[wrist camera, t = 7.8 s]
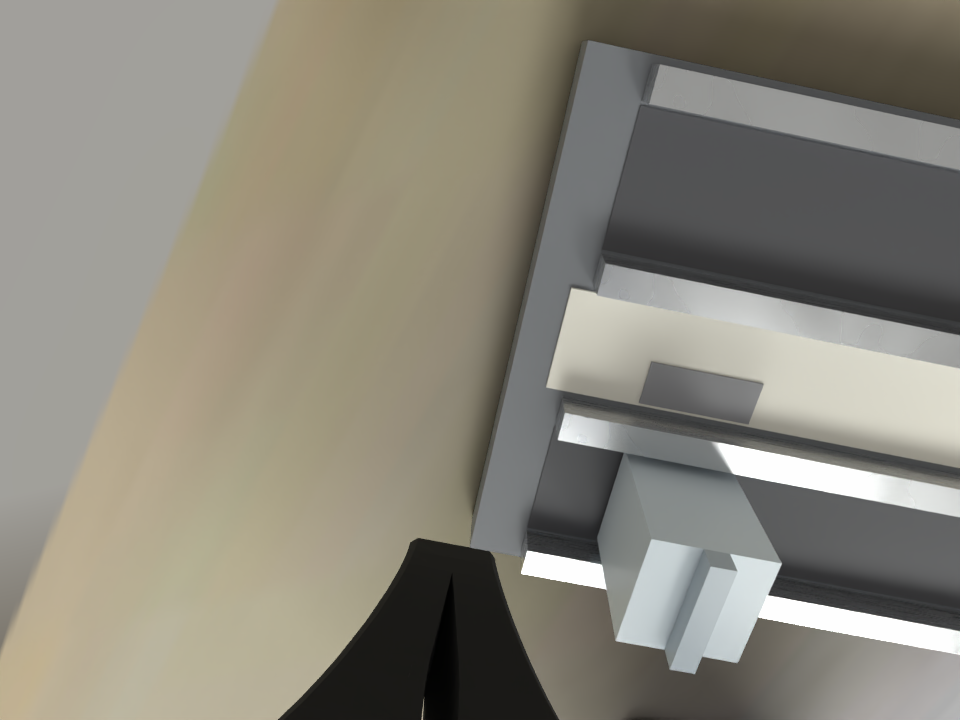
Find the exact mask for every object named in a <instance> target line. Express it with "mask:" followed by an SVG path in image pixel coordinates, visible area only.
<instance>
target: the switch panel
mask: <svg viewBox="0 0 960 720" xmlns="http://www.w3.org/2000/svg"><path fill="white" fill-rule="evenodd" d="M624 453H628V454H633V455H638V456H644V457H649V458H654V459H659V460H664V461H670V462H675V463H680V464H685V465H690V466H696V467H701V468H706V469H711V470H716V471H722V472H727V473H732V474H734V475H735V477H736V479H737V481H738V482H739V484H740V486H741V488H742V490H743V492H744V494H745V495H746V497H747V499H748V501H749V503H750V505H751V507H752V509H753V510H754V512H755V514H756V516H757V518H758V520H759V522H760V523H761V525H762V527H763V529H764V531H765V533H766V535H767V537H768V538H769V540H770V542H771V544H772V546H773V548H774V550H775V552H776V553H777V555H778V557H779V559H780V561H781V563H782V565H781V567H780V569H779V571H778V574H777V576H776V578H775V580H774V583H773V585H772V587H771V589H770V592H769V594H768V596H767V598H766V601H765V603H764V605H763V607H762V610H761V612H760V614H759V616H758V617H759V618H765V619H770V620H775V621H781V622H786V623H792V624H797V625H803V626H808V627H813V628H819V629H824V630H830V631H835V632H840V633H846V634H851V635H857V636H862V637H868V638H873V639H878V640H884V641H889V642H895V643H900V644H906V645H911V646H916V647H922V648H927V649H933V650H938V651H943V652H949V653H954V654H960V120H957V119H952V118H948V117H943V116H938V115H934V114H929V113H924V112H920V111H915V110H911V109H906V108H901V107H897V106H892V105H887V104H883V103H878V102H873V101H869V100H864V99H859V98H855V97H850V96H845V95H841V94H836V93H832V92H827V91H822V90H818V89H813V88H808V87H804V86H799V85H794V84H790V83H785V82H780V81H776V80H771V79H767V78H762V77H757V76H753V75H748V74H743V73H739V72H734V71H729V70H725V69H720V68H715V67H711V66H706V65H702V64H697V63H692V62H688V61H683V60H678V59H674V58H669V57H664V56H660V55H655V54H650V53H646V52H641V51H636V50H632V49H627V48H623V47H618V46H613V45H609V44H604V43H599V42H595V41H590V40H586V41H582V44H581V48H580V52H579V57H578V61H577V65H576V70H575V74H574V79H573V83H572V87H571V92H570V96H569V100H568V105H567V109H566V113H565V118H564V122H563V126H562V131H561V135H560V139H559V144H558V148H557V152H556V157H555V161H554V165H553V170H552V174H551V178H550V183H549V187H548V191H547V196H546V200H545V204H544V209H543V213H542V217H541V222H540V226H539V230H538V235H537V239H536V243H535V248H534V252H533V256H532V261H531V265H530V269H529V274H528V278H527V282H526V287H525V291H524V296H523V300H522V304H521V309H520V313H519V317H518V322H517V326H516V330H515V335H514V339H513V343H512V348H511V352H510V356H509V361H508V365H507V369H506V374H505V378H504V382H503V387H502V391H501V395H500V400H499V404H498V408H497V413H496V417H495V421H494V426H493V430H492V434H491V439H490V443H489V447H488V452H487V456H486V460H485V465H484V469H483V473H482V478H481V482H480V486H479V491H478V495H477V499H476V504H475V508H474V513H473V517H472V527H471V540H470V548H475V549H480V550H486V551H491V552H497V553H502V554H507V555H513V556H518V557H521V574H526V575H532V576H537V577H543V578H548V579H553V580H559V581H564V582H570V583H575V584H580V585H586V586H591V587H597V588H602V589H606V585H605V579H604V574H603V568H602V563H601V557H600V552H599V546H598V541H597V536H598V533H599V530H600V527H601V524H602V520H603V517H604V514H605V511H606V508H607V505H608V501H609V498H610V495H611V492H612V489H613V486H614V482H615V479H616V476H617V473H618V470H619V467H620V463H621V460H622V457H623V454H624Z"/></svg>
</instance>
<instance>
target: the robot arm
mask: <svg viewBox="0 0 960 720" xmlns="http://www.w3.org/2000/svg"><path fill="white" fill-rule="evenodd" d="M423 699H424V712H423V720H559V719H558V717H557V715H556V713H555V711H554V710H553V708H552V706H551V704H550V702H549V700H548V698H547V696H546V694H545V692H544V690H543V688H542V686H541V684H540V682H539V680H538V678H537V676H536V673H535V671H534V669H533V667H532V665H531V662H530V660H529V658H528V656H527V653H526V651H525V649H524V646H523V644H522V641H521V639H520V636H519V634H518V631H517V629H516V627H515V624H514V621H513V619H512V616H511V613H510V610H509V608H508V605H507V602H506V599H505V596H504V593H503V589H502V586H501V583H500V579H499V576H498V572H497V568H496V563H495V558H494V557H493V555H492V554H491V553H490V551H485V550H480V549H474V548H469V547H464V546H458V545H453V544H447V543H442V542H437V541H431V540H426V539H421V538H418V539H416V540H414V541H412V542H410V545H409V549H408V552H407V554H406V556H405V559H404V561H403V563H402V565H401V567H400V569H399V571H398V573H397V574H396V576H395V578H394V579H393V581H392V583H391V585H390V586H389V588H388V590H387V591H386V593H385V594H384V596H383V597H382V599H381V600H380V601H379V603H378V604H377V606H376V607H375V609H374V610H373V612H372V613H371V615H370V616H369V618H368V619H367V620H366V622H365V623H364V625H363V626H362V627H361V628H360V630H359V631H358V632H357V633H356V635H355V636H354V637H353V639H352V640H351V641H350V642H349V644H348V645H347V646H346V647H345V649H344V650H343V651H342V652H341V654H340V655H339V656H338V657H337V659H336V660H335V661H334V662H333V663H332V664H331V665H330V667H329V668H328V669H327V670H326V671H325V672H324V673H323V674H322V676H321V677H320V678H319V679H318V680H317V681H316V682H315V683H314V684H313V685H312V686H311V687H310V688H309V689H308V691H307V692H306V693H305V694H304V695H303V696H302V697H301V698H300V699H299V700H298V701H297V702H296V703H295V704H294V705H293V706H292V707H291V708H290V709H288V710H287V711H286V712H285V713H284V714H283V715H282V716H281V717H280V718H279V719H278V720H421V717H422V708H423Z"/></svg>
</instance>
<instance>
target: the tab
mask: <svg viewBox="0 0 960 720" xmlns="http://www.w3.org/2000/svg"><path fill="white" fill-rule="evenodd" d="M597 541H598V546H599V552H600V557H601V563H602V568H603V574H604V579H605V585H606V591H607V596H608V602H609V607H610V613H611V618H612V624H613V629H614V635H615V641H619V642H624V643H630V644H635V645H641V646H646V647H652V648H657V649H663V650H665V653H666V657H667V661H668V665H669V669H670V670H675V671H681V672H686V673H692V674H695V673H696V670H697V668H698V666H699V663H700V661H701V658H702V657H707V658H712V659H718V660H723V661H729V662H734V663H738V661H739V659H740V657H741V654H742V652H743V650H744V648H745V645H746V643H747V641H748V639H749V637H750V634H751V632H752V630H753V628H754V625H755V623H756V621H757V619H758V616H759V614H760V612H761V610H762V607H763V605H764V603H765V601H766V598H767V596H768V594H769V592H770V589H771V587H772V585H773V583H774V580H775V578H776V576H777V574H778V571H779V569H780V567H781V565H782V563H781V561H780V559H779V557H778V555H777V553H776V552H775V550H774V548H773V546H772V544H771V542H770V540H769V538H768V537H767V535H766V533H765V531H764V529H763V527H762V525H761V523H760V522H759V520H758V518H757V516H756V514H755V512H754V510H753V509H752V507H751V505H750V503H749V501H748V499H747V497H746V495H745V494H744V492H743V490H742V488H741V486H740V484H739V482H738V481H737V479H736V477H735V475H734V474H732V473H727V472H722V471H716V470H711V469H706V468H701V467H696V466H690V465H685V464H680V463H675V462H670V461H664V460H659V459H654V458H649V457H644V456H638V455H633V454H628V453H624V454H623V457H622V460H621V463H620V467H619V470H618V473H617V476H616V479H615V482H614V486H613V489H612V492H611V495H610V498H609V501H608V505H607V508H606V511H605V514H604V517H603V520H602V524H601V527H600V530H599V533H598V536H597Z"/></svg>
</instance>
